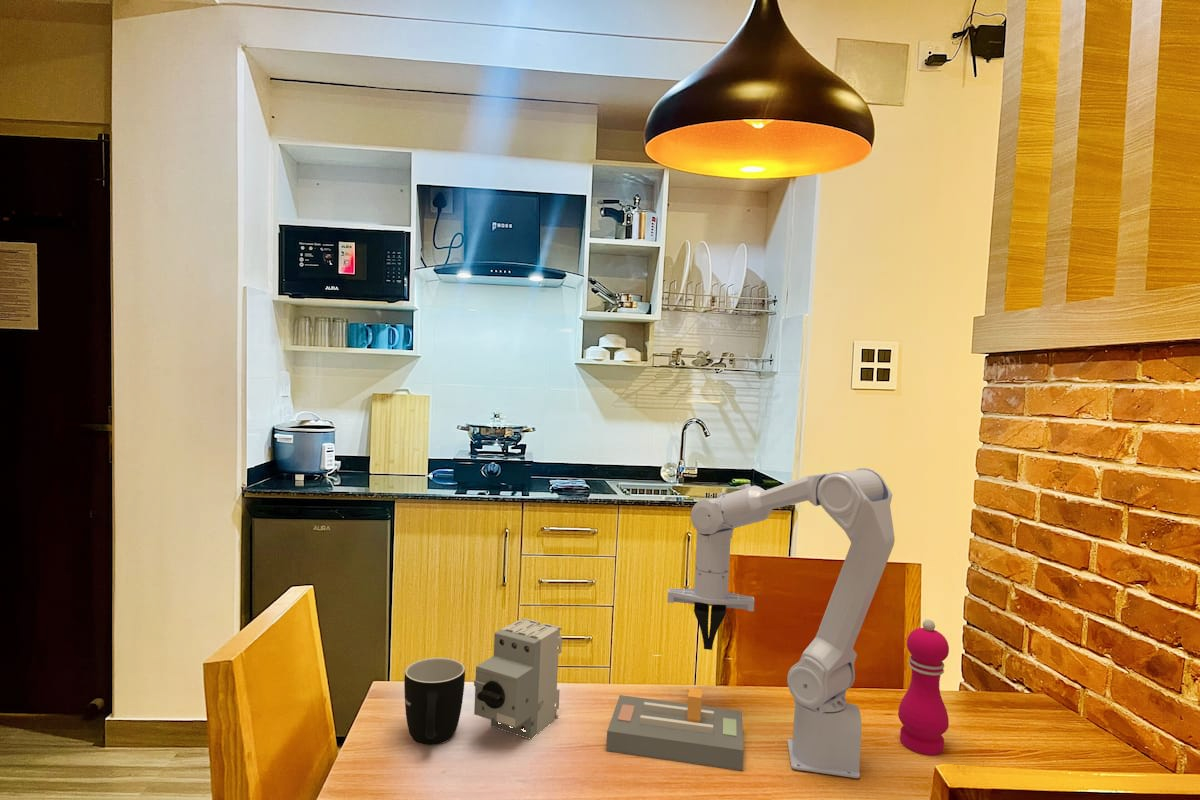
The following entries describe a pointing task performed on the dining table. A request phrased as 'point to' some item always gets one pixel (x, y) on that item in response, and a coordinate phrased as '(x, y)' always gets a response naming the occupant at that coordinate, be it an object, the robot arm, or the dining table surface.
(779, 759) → the dining table surface
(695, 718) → the breaker lever
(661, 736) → the slider control box
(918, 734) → the pepper mill
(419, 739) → the mug
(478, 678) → the circuit breaker
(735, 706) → the dining table surface
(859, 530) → the robot arm
